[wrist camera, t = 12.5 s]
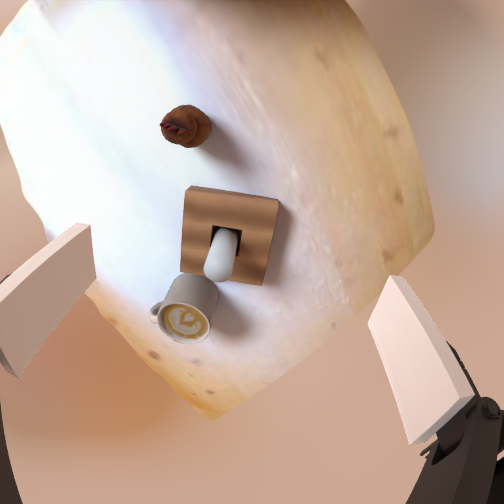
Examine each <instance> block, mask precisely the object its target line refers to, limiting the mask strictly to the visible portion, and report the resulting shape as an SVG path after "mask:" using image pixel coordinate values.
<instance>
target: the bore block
mask: <svg viewBox="0 0 504 504" xmlns="http://www.w3.org/2000/svg"><path fill="white" fill-rule="evenodd" d="M278 208H279V204H278V199H273V198H268V197H262V196H256V195H250V194H244V193H238V192H232V191H225V190H219V189H212V188H205V187H198V186H190V187H189V188H188V189H187V190H186V191H185V199H184V211H183V226H182V242H181V263H180V272H184V273H190V274H195V275H201V276H206V275H205V273H204V264H205V262H206V259H207V256H208V253H209V250H210V247H211V245H212V242H213V239H214V236H215V234H216V231H217V229H218V228H219V227H220V226H221V227H227V228H234V229H237V230H238V233H239V237H238V242H237V248H236V253H235V259H234V265H233V270H232V275H231V277H230V278H229V279H228V280H230V281H236V282H242V283H248V284H254V285H260V286H262V283H263V279H264V274H265V269H266V265H267V260H268V256H269V251H270V246H271V241H272V237H273V232H274V227H275V222H276V217H277V213H278Z"/></svg>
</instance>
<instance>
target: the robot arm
mask: <svg viewBox="0 0 504 504" xmlns="http://www.w3.org/2000/svg"><path fill="white" fill-rule="evenodd" d="M95 279H96V272H95V265H94V257H93V248H92V239H91V227H90V225H88V224H82V223H76V224H75V225H73V226H72V227H71V228H69V229H68V230H66V231H65V232H64V233H62V234H61V235H60V236H58V237H57V238H56V239H54V240H53V241H52V242H50V243H49V244H48V245H46V246H45V247H44V248H42V249H41V250H40V251H39V252H37V253H36V254H35V255H34V256H32V257H31V258H30V259H29V260H27V261H26V262H25V263H24V264H23V265H22V266H20V267H19V268H18V269H17V270H16V271H14V272H13V273H11V274H10V275H8V276H6V277H5V278H4V279H3V280H2V281H1V282H0V362H1V364H2V366H3V367H4V369H5V371H7V372H8V373H10V374H12V375H13V376H15V377H16V378H18V379H19V378H20V377H21V375H22V374H23V372H24V371H25V369H26V368H27V366H28V365H29V363H30V362H31V360H32V359H33V358H34V356H35V354H36V353H37V352H38V350H39V349H40V348H41V346H42V345H43V344H44V342H45V341H46V340H47V338H48V337H49V335H50V334H51V333H52V332H53V330H54V329H55V328H56V326H57V325H58V324H59V323H60V321H61V320H62V319H63V317H64V316H65V315H66V314H67V312H68V311H69V309H71V307H72V306H73V305H74V304H75V303H76V301H77V300H78V299H79V298H80V297H81V295H82V294H83V293H84V292H85V291H86V290H87V288H88V287H89V286H90V285H91V284H92V283H93V281H94V280H95ZM367 324H368V326H369V329H370V331H371V334H372V336H373V339H374V341H375V344H376V347H377V349H378V352H379V355H380V357H381V360H382V363H383V365H384V368H385V371H386V374H387V376H388V379H389V382H390V385H391V388H392V391H393V394H394V397H395V400H396V403H397V405H398V409H399V412H400V416H401V419H402V422H403V425H404V429H405V432H406V435H407V439H408V443H409V445H412V444H417V443H422V442H426V441H427V440H428V439H429V438H430V437H432V436H433V435H434V434H435V433H436V434H437V437H438V439H437V440H436V441H434V442H433V443H432V444H431V445H430V446H428V447H427V448H426V449H424V450H423V451H422V452H421V454H420V455H421V456H423V455H424V454H425V453H427V452H428V451H429V450H430V452H429V454H428V455H427V456H426V457H425V458H426V459H427V460H426V463H425V464H424V467H423V469H422V471H421V474H420V476H419V478H418V480H417V482H416V484H415V486H414V488H413V491H412V493H411V495H410V497H409V498H408V500H407V502H406V504H504V457H503V458H501V459H500V460H498V461H497V455H498V454H499V453H500V452H502V451H503V450H504V410H500V407H499V406H498V404H497V403H496V402H495V401H494V400H493V399H491V398H488V397H482V398H481V397H480V395H479V393H478V391H477V389H476V387H475V385H474V383H473V381H472V379H471V378H470V375H469V374H468V372H467V370H466V369H465V366H464V365H463V363H462V361H460V358H459V356H458V354H457V352H456V351H455V349H454V348H453V347H452V346H451V345H450V344H449V343H448V342H447V341H445V339H444V337H443V336H442V334H441V333H440V331H439V329H438V327H437V326H436V324H435V323H434V321H433V320H432V318H431V316H430V315H429V314H428V312H427V310H426V309H425V307H424V306H423V304H422V303H421V301H420V300H419V298H418V297H417V296H416V294H415V293H414V291H413V290H412V288H411V287H410V286H409V284H408V283H407V281H406V280H405V279H404V277H400V276H394V275H389V278H388V280H387V282H386V285H385V287H384V289H383V291H382V294H381V296H380V298H379V300H378V302H377V304H376V307H375V309H374V311H373V313H372V315H371V317H370V319H369V321H368V323H367ZM0 504H23V503H22V501H21V498H20V495H19V492H18V489H17V485H16V482H15V479H14V475H13V472H12V468H11V464H10V459H9V456H8V450H7V446H6V440H5V435H4V429H3V422H2V414H1V405H0Z"/></svg>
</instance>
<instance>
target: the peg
mask: <svg viewBox="0 0 504 504" xmlns="http://www.w3.org/2000/svg"><path fill="white" fill-rule="evenodd" d="M238 237H239V233H238V230H237V229H234V228H227V227H221V226H220V227H219V228H218V229H217V231H216V234H215V236H214V239H213V242H212V245H211V247H210V250H209V253H208V256H207V259H206V262H205V264H204V273H205V275H206V276H207V278H209V279H210V280H212V281H214V282H224V281H226V280H228V279H229V278H230V277H231V275H232V270H233V265H234V259H235V253H236V248H237V242H238Z"/></svg>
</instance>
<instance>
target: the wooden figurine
mask: <svg viewBox="0 0 504 504" xmlns="http://www.w3.org/2000/svg"><path fill="white" fill-rule="evenodd" d="M160 126H161V131H162V134H163V136H164V137H165V139H166V140H168V141H169V142H171V143H174V144H180V145H182V146H183V147H185V148H192V147H197V146H198V145H200V144H201V143H203V142H204V141H205V140H206V139H207V138H208V136H209V134H210V132H211V122H210V120H209V118H208V117H207V116H206V115H205V114H204V113H203V112H202V111H201V110H200V109H198V108H196V107H194V106H192V105H181V106H179V107H177V108H175V109H173V110H172V111H171V112H169V113H167V114H166V116H165V117H164V118H163V120H162V122H161V123H160Z"/></svg>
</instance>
